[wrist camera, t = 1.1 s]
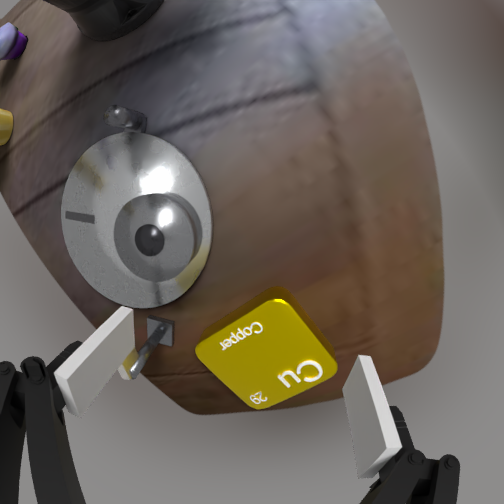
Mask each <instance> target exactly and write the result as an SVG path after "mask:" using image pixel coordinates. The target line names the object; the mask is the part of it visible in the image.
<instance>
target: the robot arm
mask: <svg viewBox="0 0 504 504" xmlns="http://www.w3.org/2000/svg"><path fill="white" fill-rule="evenodd" d="M43 1H46V2H48V3H50V4H52V5H54V6H56V7H58V8H60V9H62V10H64V11H66V12H68V13H69V14H70V16H71V17H72V18H73V20H74V21H75V22H76V24H77V26H78V28H79V30H80V31H81V32H82V33H83V34H84V35H86V36H88V37H90V38H91V39H94V40H97V41H108V40H112V39H116V38H118V37H121V36H123V35H125V34H127V33H129V32H131V31H132V30H134V29H135V28H137V27H138V26H140V25H141V24H142V23H144V22H145V21H146V20H147V19H148V18H149V17H150V16H151V15H152V14H153V13H154V12H155V11H156V10H157V9H158V7H159V6H160V5H161V3H162V2H163V0H43ZM134 347H135V340H134V322H133V309H130V308H127V307H124V306H121V307H120V308H119V309H118V310H117V311H116V312H115V313H114V314H113V315H112V316H111V317H110V318H109V319H108V320H107V321H105V322H104V323H103V324H102V325H101V326H100V327H99V328H98V329H97V330H96V331H95V332H94V333H93V334H92V335H91V336H90V337H89V338H88V339H87V340H86V341H85V342H84V343H82V342H80V341H76V342H74V343H72V344H70V345H69V346H67V347H66V348H65V349H64V351H62V352H61V353H60V355H58V356H57V357H56V358H55V359H54V360H53V361H52V362H51V363H50V364H49V365H48V366H47V367H46V366H45V363H44V361H43V360H42V359H41V358H39V357H34V356H32V357H28V358H26V359H24V360H23V361H22V362H21V365H20V367H21V370H22V372H23V373H22V372H19V371H16V369H15V367H14V365H13V364H12V363H11V362H8V361H3V362H0V504H18V496H19V479H20V467H21V459H22V452H23V445H24V438H25V433H27V444H28V453H29V461H30V467H31V474H32V479H33V484H34V489H35V494H36V497H37V502H38V504H86V503H85V499H84V496H83V493H82V491H81V487H80V484H79V481H78V477H77V474H76V470H75V467H74V463H73V458H72V455H71V450H70V446H69V441H68V436H67V431H66V425H65V419H64V413H63V410H62V409H63V407H64V406H65V405H66V407H67V409H68V411H69V412H70V413H71V414H73V415H75V416H77V417H79V418H82V416H83V415H84V414H85V412H86V411H87V410H88V408H89V407H90V405H91V404H92V403H93V401H94V400H95V399H96V397H97V396H98V395H99V393H100V392H101V390H102V389H103V388H104V386H105V385H106V384H107V382H108V381H109V380H110V378H111V377H112V376H113V374H114V373H115V372H116V370H117V369H118V368H119V367H120V365H121V364H122V363H123V361H124V360H125V359H126V357H127V356H128V355H129V353H130V352H131V351H132V350H133V348H134ZM342 390H343V395H344V400H345V404H346V410H347V415H348V420H349V425H350V431H351V437H352V442H353V448H354V454H355V460H356V467H357V474H358V478H372V477H374V476H375V475H376V474H377V473H378V472H379V476H380V478H379V479H378V480H377V481H376V482H375V483H373V484H372V485H371V486H370V488H371V489H370V491H369V492H368V493H367V495H366V496H365V497H364V498H363V500H362V501H361V503H360V504H405V503H406V504H456V502H457V494H458V485H459V473H460V463H459V461H458V459H457V458H456V457H455V456H453V455H448V454H447V455H444V456H443V457H442V458H441V459H440V460H434V459H427V458H426V457H425V456H424V454H423V453H422V452H420V451H419V450H416V449H415V448H414V445H413V442H412V439H411V437H410V434H409V431H408V428H407V425H406V423H405V422H404V421H405V420H404V417H403V414H402V412H401V411H400V410H399V409H398V408H397V407H396V406H389V405H388V403H387V400H386V397H385V394H384V392H383V389H382V386H381V383H380V380H379V378H378V375H377V372H376V370H375V367H374V365H373V362H372V359H371V357H370V356H363V355H358V357H357V360H356V362H355V364H354V366H353V368H352V370H351V372H350V375H349V377H348V379H347V381H346V383H345V385H344V387H343V389H342Z"/></svg>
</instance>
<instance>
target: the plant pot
mask: <svg viewBox="0 0 504 504" xmlns="http://www.w3.org/2000/svg"><path fill="white" fill-rule="evenodd" d="M12 129H13V115H12V113H11V112H9V111H6V110H3V109H0V146H1V145H4V144H5V143H6V142H7V141H8V140H9V138H10V136H11V133H12Z"/></svg>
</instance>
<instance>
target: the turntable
mask: <svg viewBox="0 0 504 504" xmlns="http://www.w3.org/2000/svg"><path fill="white" fill-rule="evenodd" d="M104 121H105V123H106V124H107V125H109V126H114V127H120V128H124V133H118V134H114V135H111V136H108V137H106V138H103V139H102V140H100V141H98V142H97V143H95V144H94V145H92V146H91V147H90V148H89V149H87V150H86V151H85V153H84V154H83V155H82V156H81V157H80V158H79V160H78V161H77V162H76V164H75V165H74V167H73V169H72V171H71V173H70V174H69V177H68V179H67V182H66V185H65V189H64V192H63V198H62V206H61V221H62V230H63V235H64V239H65V243H66V246H67V249H68V252H69V254H70V256H71V258H72V260H73V262H74V264H75V266H76V267H77V269H78V271H79V272H80V273H81V275H82V276H83V277H84V279H85V280H86V281H87V282H88V283H89V284H90V285H91V286H92V287H93V288H94V289H96V290H97V291H98V292H99V293H101V294H102V295H103V296H105V297H106V298H108V299H110V300H112V301H114V302H116V303H119V304H122V305H125V306H129V307H134V308H152V307H157V306H161V305H164V304H167V303H169V302H171V301H173V300H175V299H176V298H178V297H179V296H181V295H182V294H183V293H184V292H186V291H187V290H188V289H189V287H190V286H191V285H192V284H193V283H194V282H195V280H196V279H197V277H198V276H199V275H200V273H201V272H202V270H203V268H204V266H205V264H206V261H207V259H208V256H209V253H210V249H211V244H212V238H213V213H212V208H211V202H210V198H209V195H208V192H207V189H206V186H205V184H204V182H203V180H202V178H201V176H200V174H199V173H198V171H197V169H196V168H195V166H194V165H193V164H192V162H191V161H190V160H189V159H188V158H187V157H186V155H185V154H183V153H182V152H181V151H180V150H179V149H178V148H177V147H175V146H174V145H172V144H170V143H169V142H167V141H165V140H163V139H161V138H159V137H156V136H153V135H149V134H145V127H146V121H147V118H146V117H145V116H144V114H142V113H140V112H137V111H133V110H130V109H127V108H124V107H121V106H117V105H112V106H110V107H109V108H108V109H107V110H106V111H105V114H104ZM160 191H168V192H173V193H175V194H178V195H180V196H182V197H183V198H185V199H186V200H187V201H188V202H189V203H190V204H191V205H192V206H193V207H194V209H195V210H196V212H197V214H198V216H199V218H200V221H201V225H202V232H203V235H202V243H201V247H200V249H199V252H198V254H197V255H196V257H195V258H194V259H193V260H192V261H191V262H190V263H189V265H188V266H187V267H186V268H185V269H184V270H183V271H182V272H181V273H180V274H179V275H177V276H176V277H174V278H172V279H170V280H167V281H163V282H152V281H147V280H144V279H142V278H140V277H138V276H136V275H135V274H133V273H132V272H131V271H130V270H129V269H128V268H127V267H126V266H125V265H124V264H123V262H122V261H121V259H120V257H119V255H118V253H117V250H116V247H115V243H114V225H115V221H116V218H117V215H118V213H119V212H120V210H121V208H122V207H123V206H124V205H125V204H126V203H127V202H128V201H130V200H131V199H133V198H135V197H138V196H141V195H145V194H150V193H154V192H160Z"/></svg>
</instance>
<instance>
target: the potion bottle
mask: <svg viewBox="0 0 504 504" xmlns="http://www.w3.org/2000/svg"><path fill="white" fill-rule="evenodd" d="M27 42H28V38H27V36H24V35H23V34H22V33H20V32H19V31H18V28H17V27H15V26H13V25H12V24H10V23H9V22H8V23H7V24H5V25H4V26H2V27H1V28H0V60H7V59H14V60H15V59H17V58H19V57H20V56H21V54H22V53H23V51H24V50H25V48H26V45H27Z"/></svg>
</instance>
